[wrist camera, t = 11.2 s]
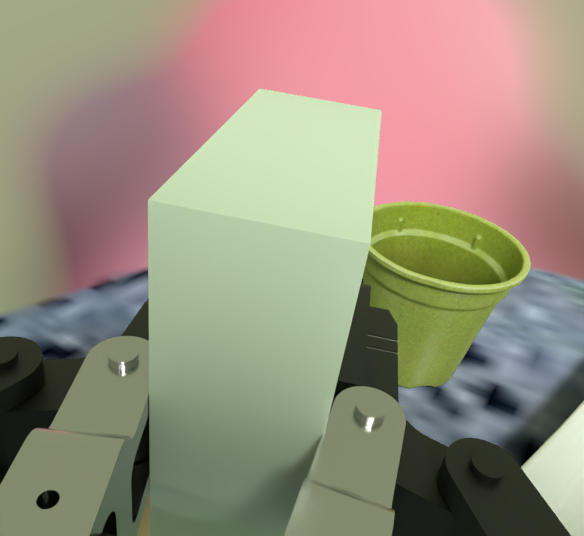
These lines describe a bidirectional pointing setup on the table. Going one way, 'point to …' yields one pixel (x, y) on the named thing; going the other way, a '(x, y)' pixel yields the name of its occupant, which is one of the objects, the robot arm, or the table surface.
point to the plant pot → (438, 282)
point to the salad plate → (562, 472)
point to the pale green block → (253, 309)
